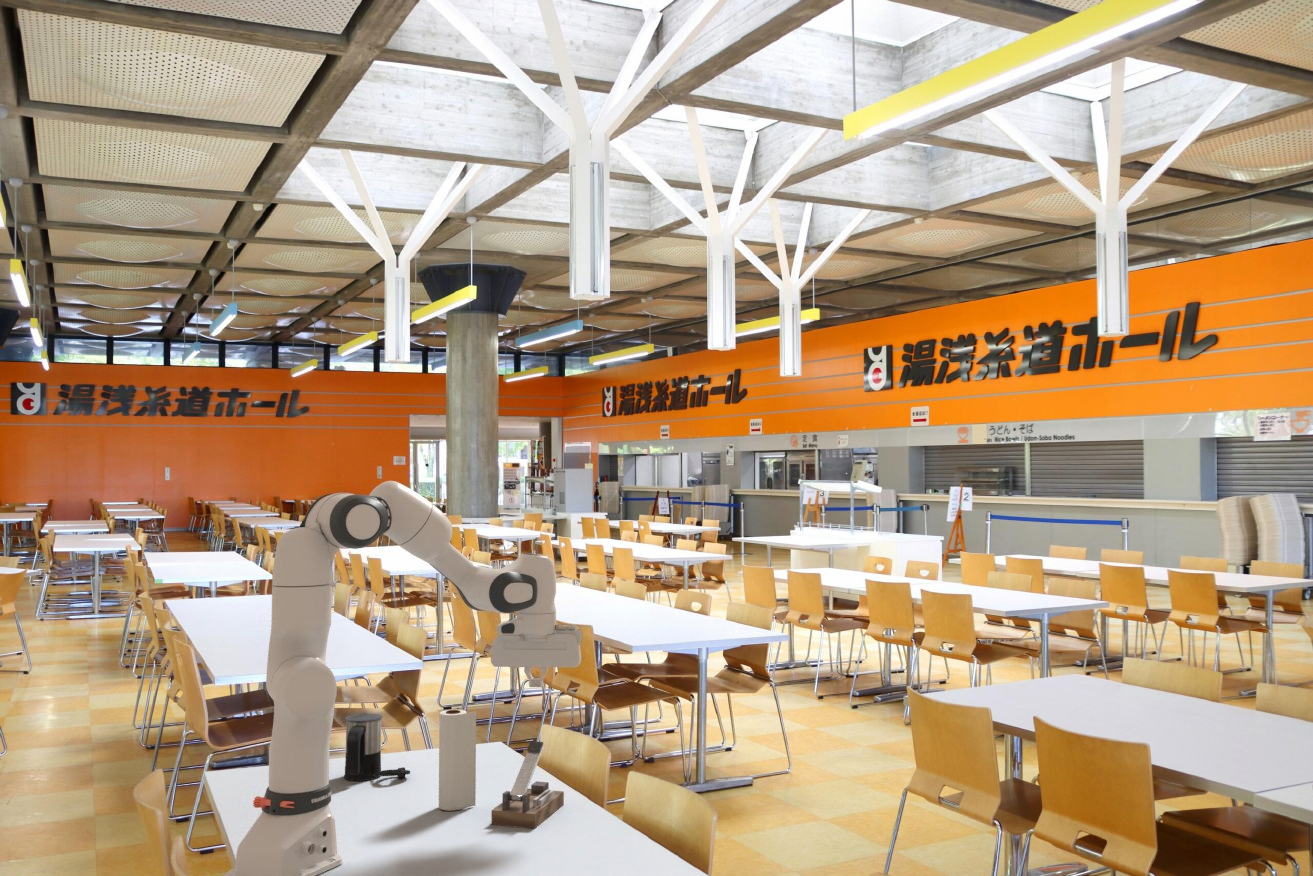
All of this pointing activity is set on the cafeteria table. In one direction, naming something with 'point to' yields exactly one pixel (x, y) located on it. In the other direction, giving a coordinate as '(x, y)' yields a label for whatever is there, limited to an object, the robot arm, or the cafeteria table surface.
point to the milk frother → (365, 749)
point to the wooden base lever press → (528, 807)
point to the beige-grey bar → (526, 771)
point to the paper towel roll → (457, 759)
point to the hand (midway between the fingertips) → (536, 686)
